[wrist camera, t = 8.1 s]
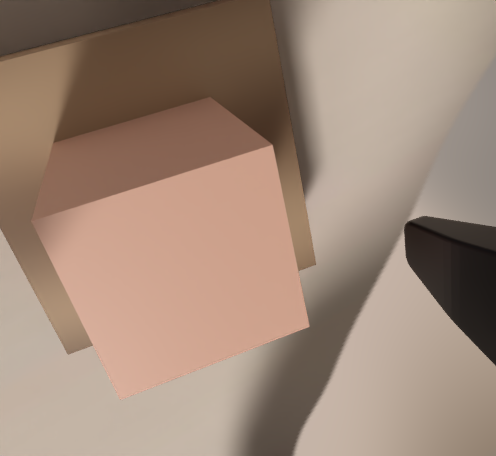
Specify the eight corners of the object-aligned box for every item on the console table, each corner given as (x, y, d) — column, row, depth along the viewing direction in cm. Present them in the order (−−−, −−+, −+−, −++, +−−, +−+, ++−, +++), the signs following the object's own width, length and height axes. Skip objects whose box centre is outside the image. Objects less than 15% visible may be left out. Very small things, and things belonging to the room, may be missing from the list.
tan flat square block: (289, 233, 22) (315, 264, 19) (71, 309, 20) (68, 354, 17) (241, -6, 17) (268, -8, 14) (-49, 68, 15) (-78, 81, 13)
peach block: (244, 231, 17) (309, 326, 12) (111, 277, 17) (120, 400, 11) (210, 96, 15) (272, 144, 10) (53, 142, 14) (31, 221, 9)
